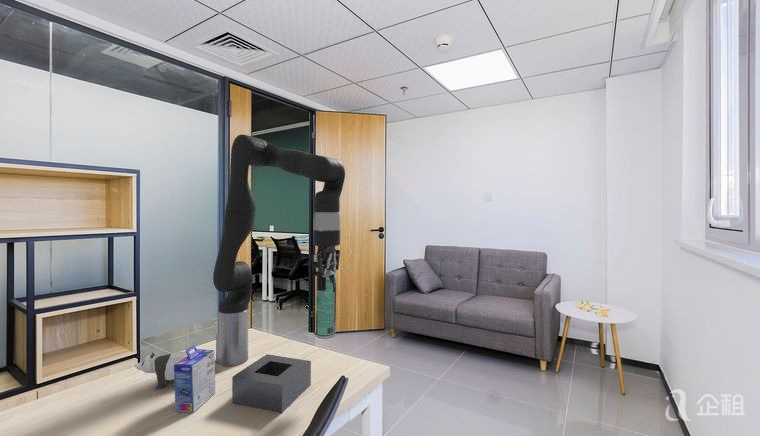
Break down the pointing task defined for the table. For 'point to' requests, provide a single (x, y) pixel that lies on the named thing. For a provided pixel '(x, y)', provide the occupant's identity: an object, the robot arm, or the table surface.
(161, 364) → the giant panda
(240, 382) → the square collar
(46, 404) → the table surface
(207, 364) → the ink cartridge box
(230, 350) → the robot arm
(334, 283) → the spray can
